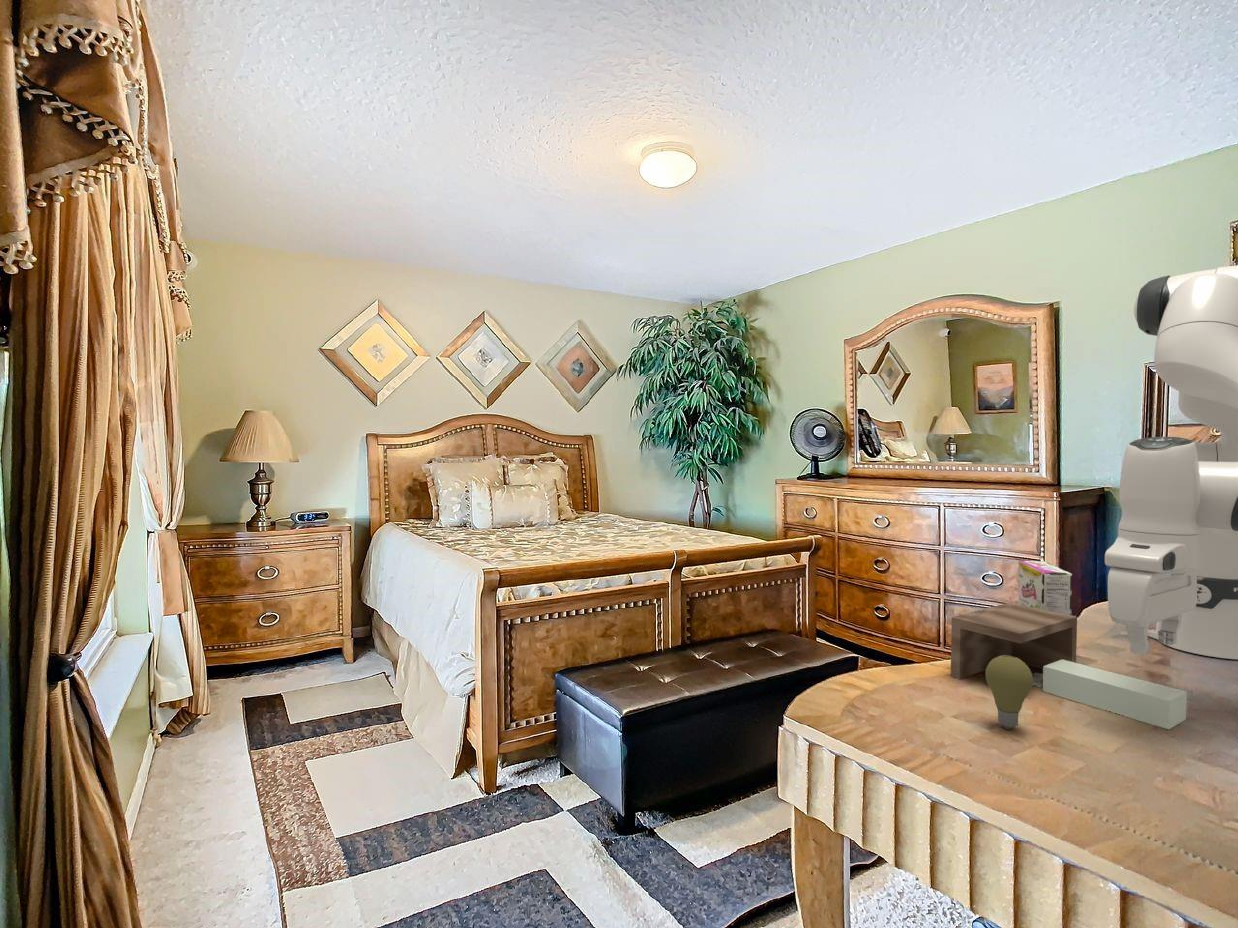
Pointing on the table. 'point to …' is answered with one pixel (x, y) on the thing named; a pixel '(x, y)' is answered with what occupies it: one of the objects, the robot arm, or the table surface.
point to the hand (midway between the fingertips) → (1154, 648)
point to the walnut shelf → (1011, 638)
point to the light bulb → (1009, 687)
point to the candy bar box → (1045, 587)
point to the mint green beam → (1116, 693)
